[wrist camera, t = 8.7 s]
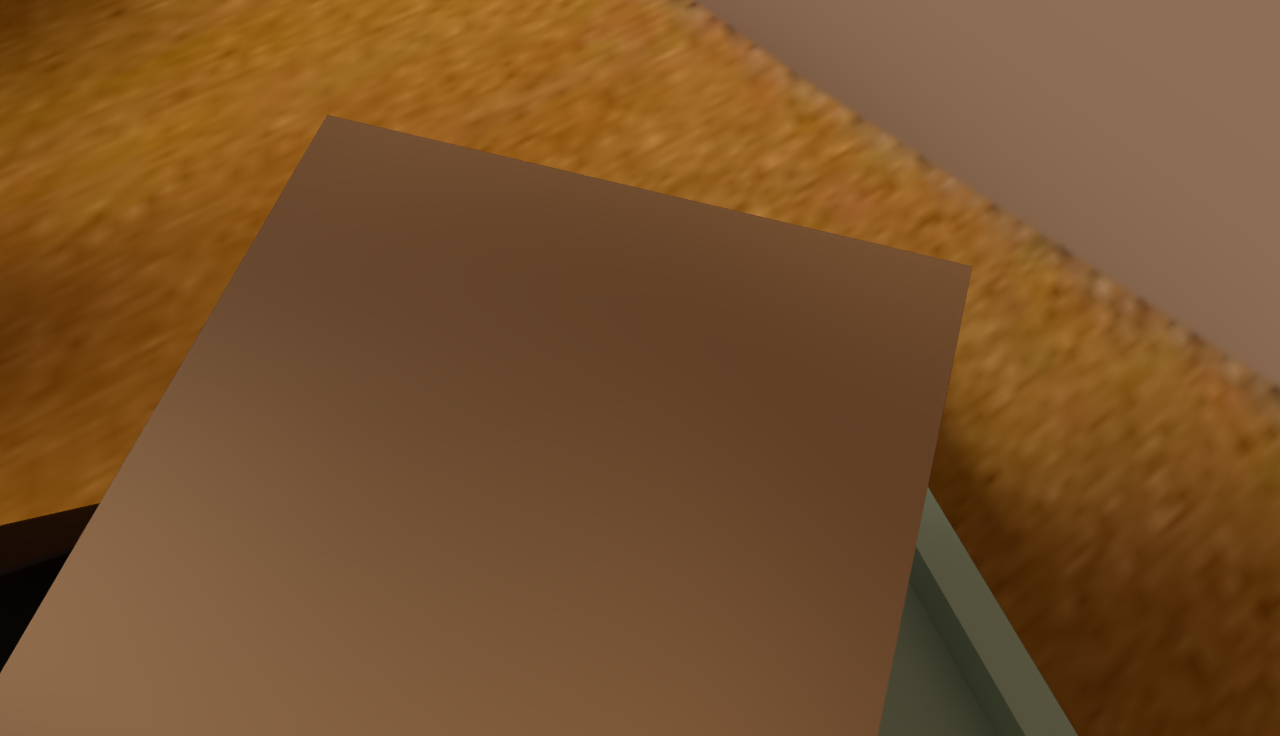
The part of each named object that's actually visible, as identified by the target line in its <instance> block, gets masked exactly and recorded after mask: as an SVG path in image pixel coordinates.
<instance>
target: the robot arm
mask: <svg viewBox="0 0 1280 736" xmlns="http://www.w3.org/2000/svg"><path fill="white" fill-rule="evenodd" d="M99 504H100V503H98V504H94V505H89V506H85V507H80V508H76V509H72V510H67V511H63V512H58V513H54V514H49V515H45V516H41V517H36V518H32V519H27V520H23V521H18V522H14V523H10V524H5V525H1V526H0V673H1V671H2V670H3V668H4V666H5V664H6V663H7V661H8V659H9V658H10V656H11V654H12V652H13V651H14V649H15V647H16V646H17V644H18V642H19V641H20V639H21V637H22V635H23V634H24V632H25V630H26V629H27V627H28V625H29V623H30V622H31V620H32V618H33V617H34V615H35V613H36V611H37V610H38V608H39V606H40V605H41V603H42V601H43V600H44V598H45V596H46V594H47V593H48V591H49V589H50V588H51V586H52V584H53V582H54V581H55V579H56V577H57V576H58V574H59V572H60V571H61V569H62V567H63V565H64V564H65V562H66V560H67V559H68V557H69V555H70V553H71V552H72V550H73V548H74V547H75V545H76V543H77V541H78V540H79V538H80V536H81V535H82V533H83V531H84V530H85V528H86V526H87V524H88V523H89V521H90V519H91V518H92V516H93V514H94V512H95V511H96V509H97V507H98V506H99Z"/></svg>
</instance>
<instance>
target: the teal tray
mask: <svg viewBox="0 0 1280 736" xmlns="http://www.w3.org/2000/svg"><path fill="white" fill-rule="evenodd" d="M878 736H1078V735H1077V733H1076V732H1075V730H1074V728H1073V727H1072V725H1071V723H1070V722H1069V720H1068V718H1067V717H1066V715H1065V713H1064V712H1063V710H1062V708H1061V707H1060V705H1059V703H1058V702H1057V700H1056V698H1055V697H1054V695H1053V693H1052V692H1051V690H1050V688H1049V687H1048V685H1047V683H1046V682H1045V680H1044V678H1043V677H1042V675H1041V674H1040V672H1039V670H1038V669H1037V667H1036V665H1035V664H1034V662H1033V660H1032V659H1031V657H1030V655H1029V654H1028V652H1027V650H1026V649H1025V647H1024V645H1023V644H1022V642H1021V640H1020V639H1019V637H1018V635H1017V634H1016V632H1015V630H1014V629H1013V627H1012V625H1011V624H1010V622H1009V620H1008V619H1007V617H1006V615H1005V614H1004V612H1003V610H1002V609H1001V607H1000V606H999V604H998V602H997V601H996V599H995V597H994V596H993V594H992V592H991V591H990V589H989V587H988V586H987V584H986V582H985V581H984V579H983V577H982V576H981V574H980V572H979V571H978V569H977V567H976V566H975V564H974V562H973V561H972V559H971V557H970V556H969V554H968V552H967V551H966V549H965V547H964V546H963V544H962V543H961V541H960V539H959V538H958V536H957V534H956V533H955V531H954V529H953V528H952V526H951V524H950V523H949V521H948V519H947V518H946V516H945V514H944V513H943V511H942V509H941V508H940V506H939V504H938V503H937V501H936V499H935V498H934V496H933V494H932V493H931V491H930V489H929V488H928V489H927V494H926V499H925V504H924V509H923V514H922V519H921V523H920V528H919V533H918V538H917V543H916V548H915V553H914V558H913V563H912V568H911V573H910V578H909V583H908V588H907V593H906V598H905V603H904V608H903V613H902V618H901V623H900V628H899V633H898V638H897V642H896V647H895V652H894V657H893V662H892V667H891V672H890V677H889V682H888V687H887V692H886V697H885V702H884V707H883V712H882V717H881V722H880V727H879V732H878Z"/></svg>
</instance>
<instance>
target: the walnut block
mask: <svg viewBox="0 0 1280 736" xmlns="http://www.w3.org/2000/svg"><path fill="white" fill-rule="evenodd" d="M971 271H972V266H969V265H964V264H960V263H956V262H952V261H947V260H943V259H939V258H935V257H930V256H926V255H922V254H917V253H913V252H909V251H905V250H900V249H896V248H892V247H888V246H883V245H879V244H875V243H871V242H866V241H862V240H858V239H854V238H849V237H845V236H841V235H837V234H832V233H828V232H824V231H820V230H815V229H811V228H807V227H802V226H798V225H794V224H790V223H785V222H781V221H777V220H773V219H768V218H764V217H760V216H756V215H751V214H747V213H743V212H739V211H734V210H730V209H726V208H722V207H717V206H713V205H709V204H704V203H700V202H696V201H692V200H687V199H683V198H679V197H675V196H670V195H666V194H662V193H658V192H653V191H649V190H645V189H641V188H636V187H632V186H628V185H624V184H619V183H615V182H611V181H607V180H602V179H598V178H594V177H589V176H585V175H581V174H577V173H572V172H568V171H564V170H560V169H555V168H551V167H547V166H543V165H538V164H534V163H530V162H526V161H521V160H517V159H513V158H509V157H504V156H500V155H496V154H492V153H487V152H483V151H479V150H474V149H470V148H466V147H462V146H457V145H453V144H449V143H445V142H440V141H436V140H432V139H428V138H423V137H419V136H415V135H411V134H406V133H402V132H398V131H394V130H389V129H385V128H381V127H376V126H372V125H368V124H364V123H359V122H355V121H351V120H347V119H342V118H338V117H334V116H330V115H327V116H326V118H325V120H324V121H323V123H322V125H321V127H320V128H319V130H318V132H317V133H316V135H315V137H314V139H313V140H312V142H311V144H310V145H309V147H308V149H307V151H306V152H305V154H304V156H303V157H302V159H301V161H300V162H299V164H298V166H297V168H296V169H295V171H294V173H293V174H292V176H291V178H290V180H289V181H288V183H287V185H286V186H285V188H284V190H283V191H282V193H281V195H280V197H279V198H278V200H277V202H276V203H275V205H274V207H273V209H272V210H271V212H270V214H269V215H268V217H267V219H266V221H265V222H264V224H263V226H262V227H261V229H260V231H259V232H258V234H257V236H256V238H255V239H254V241H253V243H252V244H251V246H250V248H249V250H248V251H247V253H246V255H245V256H244V258H243V260H242V261H241V263H240V265H239V267H238V268H237V270H236V272H235V273H234V275H233V277H232V279H231V280H230V282H229V284H228V285H227V287H226V289H225V291H224V292H223V294H222V296H221V297H220V299H219V301H218V302H217V304H216V306H215V308H214V309H213V311H212V313H211V314H210V316H209V318H208V320H207V321H206V323H205V325H204V326H203V328H202V330H201V331H200V333H199V335H198V337H197V338H196V340H195V342H194V343H193V345H192V347H191V349H190V350H189V352H188V354H187V355H186V357H185V359H184V361H183V362H182V364H181V366H180V367H179V369H178V371H177V372H176V374H175V376H174V378H173V379H172V381H171V383H170V384H169V386H168V388H167V390H166V391H165V393H164V395H163V396H162V398H161V400H160V401H159V403H158V405H157V407H156V408H155V410H154V412H153V413H152V415H151V417H150V419H149V420H148V422H147V424H146V425H145V427H144V429H143V431H142V432H141V434H140V436H139V437H138V439H137V441H136V442H135V444H134V446H133V448H132V449H131V451H130V453H129V454H128V456H127V458H126V460H125V461H124V463H123V465H122V466H121V468H120V470H119V471H118V473H117V475H116V477H115V478H114V480H113V482H112V483H111V485H110V487H109V489H108V490H107V492H106V494H105V495H104V497H103V499H102V501H101V502H100V504H99V506H98V507H97V509H96V511H95V512H94V514H93V516H92V518H91V519H90V521H89V523H88V524H87V526H86V528H85V530H84V531H83V533H82V535H81V536H80V538H79V540H78V541H77V543H76V545H75V547H74V548H73V550H72V552H71V553H70V555H69V557H68V559H67V560H66V562H65V564H64V565H63V567H62V569H61V571H60V572H59V574H58V576H57V577H56V579H55V581H54V582H53V584H52V586H51V588H50V589H49V591H48V593H47V594H46V596H45V598H44V600H43V601H42V603H41V605H40V606H39V608H38V610H37V611H36V613H35V615H34V617H33V618H32V620H31V622H30V623H29V625H28V627H27V629H26V630H25V632H24V634H23V635H22V637H21V639H20V641H19V642H18V644H17V646H16V647H15V649H14V651H13V652H12V654H11V656H10V658H9V659H8V661H7V663H6V664H5V666H4V668H3V670H2V671H1V673H0V736H878V732H879V727H880V722H881V717H882V712H883V707H884V702H885V697H886V692H887V687H888V682H889V677H890V672H891V667H892V662H893V657H894V652H895V647H896V642H897V638H898V633H899V628H900V623H901V618H902V613H903V608H904V603H905V598H906V593H907V588H908V583H909V578H910V573H911V568H912V563H913V558H914V553H915V548H916V543H917V538H918V533H919V528H920V523H921V519H922V514H923V509H924V504H925V499H926V494H927V489H928V484H929V479H930V474H931V469H932V464H933V459H934V454H935V449H936V444H937V439H938V434H939V429H940V424H941V419H942V414H943V409H944V405H945V400H946V395H947V390H948V385H949V380H950V375H951V370H952V365H953V360H954V355H955V350H956V345H957V340H958V335H959V330H960V325H961V320H962V315H963V310H964V305H965V300H966V295H967V290H968V286H969V281H970V276H971Z"/></svg>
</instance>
